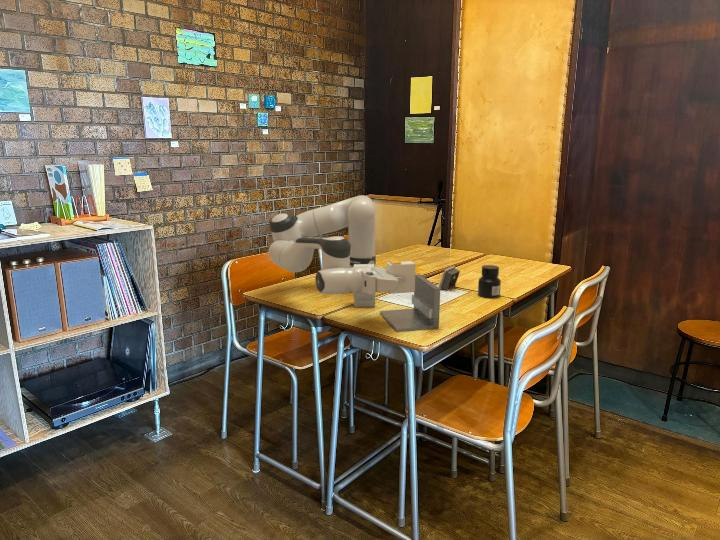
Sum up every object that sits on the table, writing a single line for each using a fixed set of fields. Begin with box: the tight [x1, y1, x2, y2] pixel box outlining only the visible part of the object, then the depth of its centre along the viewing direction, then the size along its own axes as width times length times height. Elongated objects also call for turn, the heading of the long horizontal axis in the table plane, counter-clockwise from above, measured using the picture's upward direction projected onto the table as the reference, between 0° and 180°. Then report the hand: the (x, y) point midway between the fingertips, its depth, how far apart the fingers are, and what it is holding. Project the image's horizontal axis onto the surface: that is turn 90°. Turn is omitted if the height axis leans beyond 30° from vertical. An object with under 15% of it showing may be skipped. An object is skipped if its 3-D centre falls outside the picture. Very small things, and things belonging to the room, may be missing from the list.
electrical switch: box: [438, 265, 461, 291], centre depth 234 cm, size 9×5×9 cm, turn 145°
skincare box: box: [353, 264, 376, 308], centre depth 210 cm, size 8×7×16 cm
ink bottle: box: [477, 264, 502, 299], centre depth 224 cm, size 10×9×12 cm
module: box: [385, 260, 417, 295], centre depth 189 cm, size 9×4×11 cm, turn 104°
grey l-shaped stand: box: [379, 273, 441, 333], centre depth 192 cm, size 15×20×14 cm
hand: (403, 277), depth 189 cm, fingers closed on module, 4 cm apart
